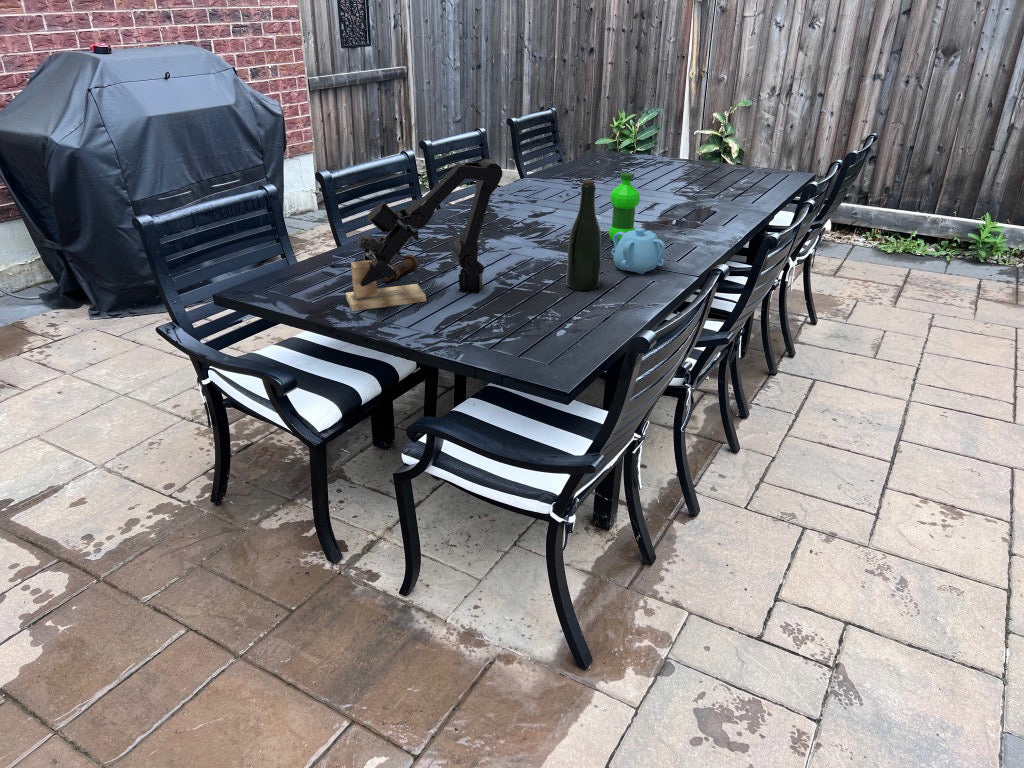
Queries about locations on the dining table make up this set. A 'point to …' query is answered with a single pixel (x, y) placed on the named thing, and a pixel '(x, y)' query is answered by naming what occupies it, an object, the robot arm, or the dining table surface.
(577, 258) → the beer bottle
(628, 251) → the decorative pot
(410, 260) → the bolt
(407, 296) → the plank
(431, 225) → the dining table surface
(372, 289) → the block
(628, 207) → the plastic bottle
